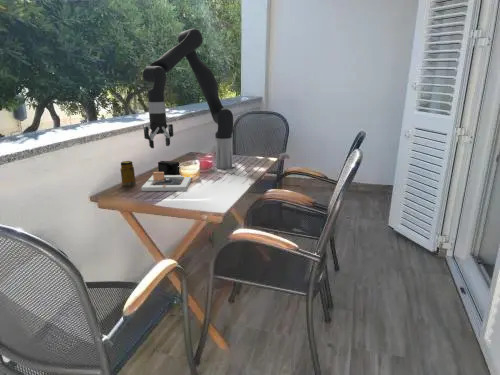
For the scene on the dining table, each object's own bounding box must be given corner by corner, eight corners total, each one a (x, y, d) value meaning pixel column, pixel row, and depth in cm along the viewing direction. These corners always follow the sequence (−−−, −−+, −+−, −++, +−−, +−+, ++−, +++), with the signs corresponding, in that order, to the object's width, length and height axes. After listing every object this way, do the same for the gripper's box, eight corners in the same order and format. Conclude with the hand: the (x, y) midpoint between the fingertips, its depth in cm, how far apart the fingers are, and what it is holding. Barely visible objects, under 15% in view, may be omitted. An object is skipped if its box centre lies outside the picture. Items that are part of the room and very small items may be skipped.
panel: (192, 179, 179) (192, 174, 178) (186, 192, 160) (185, 186, 159) (152, 180, 179) (152, 175, 178) (142, 192, 160) (141, 186, 159)
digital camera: (157, 175, 188) (156, 162, 186) (162, 172, 193) (161, 160, 190) (174, 177, 185) (173, 164, 182) (179, 174, 189) (179, 161, 187)
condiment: (124, 184, 173) (122, 160, 169) (142, 184, 173) (139, 160, 169) (119, 188, 166) (116, 163, 162) (137, 188, 166) (134, 163, 162)
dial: (181, 180, 174) (181, 169, 173) (177, 187, 164) (177, 175, 162) (156, 181, 174) (155, 169, 172) (151, 187, 164) (150, 175, 162)
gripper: (167, 110, 170) (169, 144, 175) (139, 112, 161) (142, 147, 166) (175, 111, 165) (177, 146, 170) (146, 113, 156) (149, 150, 161)
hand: (160, 146), depth 168 cm, fingers open, 7 cm apart
